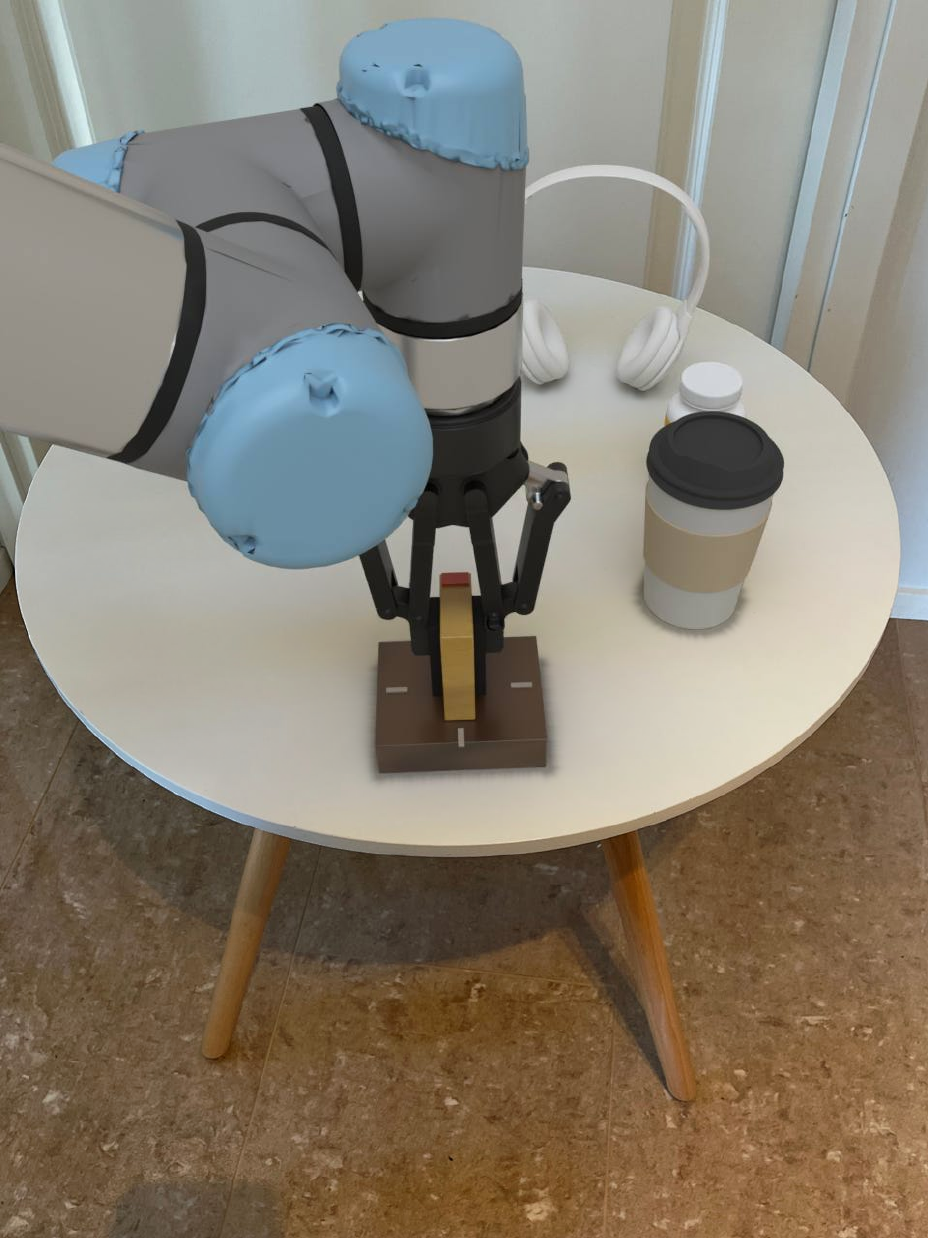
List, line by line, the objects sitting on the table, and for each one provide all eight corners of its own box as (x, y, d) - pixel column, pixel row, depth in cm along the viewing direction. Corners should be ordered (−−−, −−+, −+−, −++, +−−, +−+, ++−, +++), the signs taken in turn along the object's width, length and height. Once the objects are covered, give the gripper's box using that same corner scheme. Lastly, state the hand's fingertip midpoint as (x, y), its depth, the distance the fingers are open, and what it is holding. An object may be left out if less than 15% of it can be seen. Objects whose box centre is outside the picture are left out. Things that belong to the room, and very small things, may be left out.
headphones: (690, 408, 96) (724, 194, 82) (490, 396, 98) (489, 184, 84) (689, 365, 101) (721, 154, 87) (499, 354, 103) (499, 147, 89)
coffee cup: (658, 541, 84) (682, 381, 73) (767, 580, 81) (810, 419, 70) (609, 612, 79) (627, 451, 68) (723, 657, 76) (762, 496, 65)
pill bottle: (690, 457, 91) (708, 346, 83) (746, 492, 88) (771, 379, 80) (640, 488, 89) (654, 376, 81) (696, 525, 85) (717, 411, 77)
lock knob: (475, 720, 68) (473, 634, 62) (444, 721, 68) (439, 635, 62) (473, 656, 72) (470, 569, 66) (443, 657, 72) (438, 570, 66)
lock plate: (378, 778, 69) (374, 749, 67) (381, 666, 76) (378, 636, 74) (546, 771, 69) (548, 742, 67) (534, 660, 76) (536, 630, 74)
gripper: (589, 329, 55) (568, 634, 72) (300, 338, 55) (347, 641, 72) (606, 414, 50) (579, 721, 67) (287, 424, 50) (341, 729, 67)
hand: (459, 679), depth 70 cm, fingers closed on lock knob, 2 cm apart
